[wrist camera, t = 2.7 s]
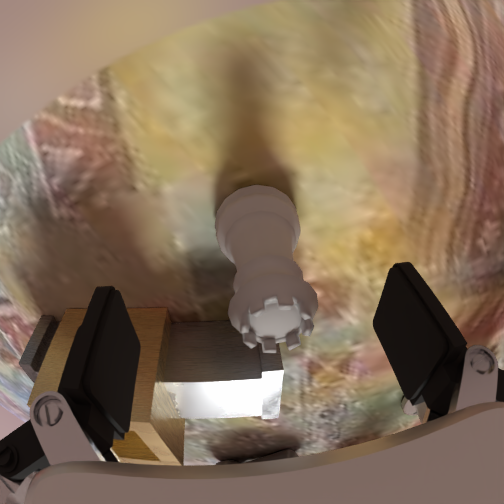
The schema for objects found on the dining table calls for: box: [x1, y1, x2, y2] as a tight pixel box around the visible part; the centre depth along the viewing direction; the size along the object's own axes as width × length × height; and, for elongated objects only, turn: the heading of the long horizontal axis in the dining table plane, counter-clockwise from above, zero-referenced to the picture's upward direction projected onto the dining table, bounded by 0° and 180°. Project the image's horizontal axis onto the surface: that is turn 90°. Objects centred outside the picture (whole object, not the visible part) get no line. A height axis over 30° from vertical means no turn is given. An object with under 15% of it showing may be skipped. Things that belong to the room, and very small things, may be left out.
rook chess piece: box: [215, 185, 318, 353], centre depth 13 cm, size 4×4×8 cm
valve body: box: [19, 307, 283, 466], centre depth 18 cm, size 18×8×8 cm, turn 91°
